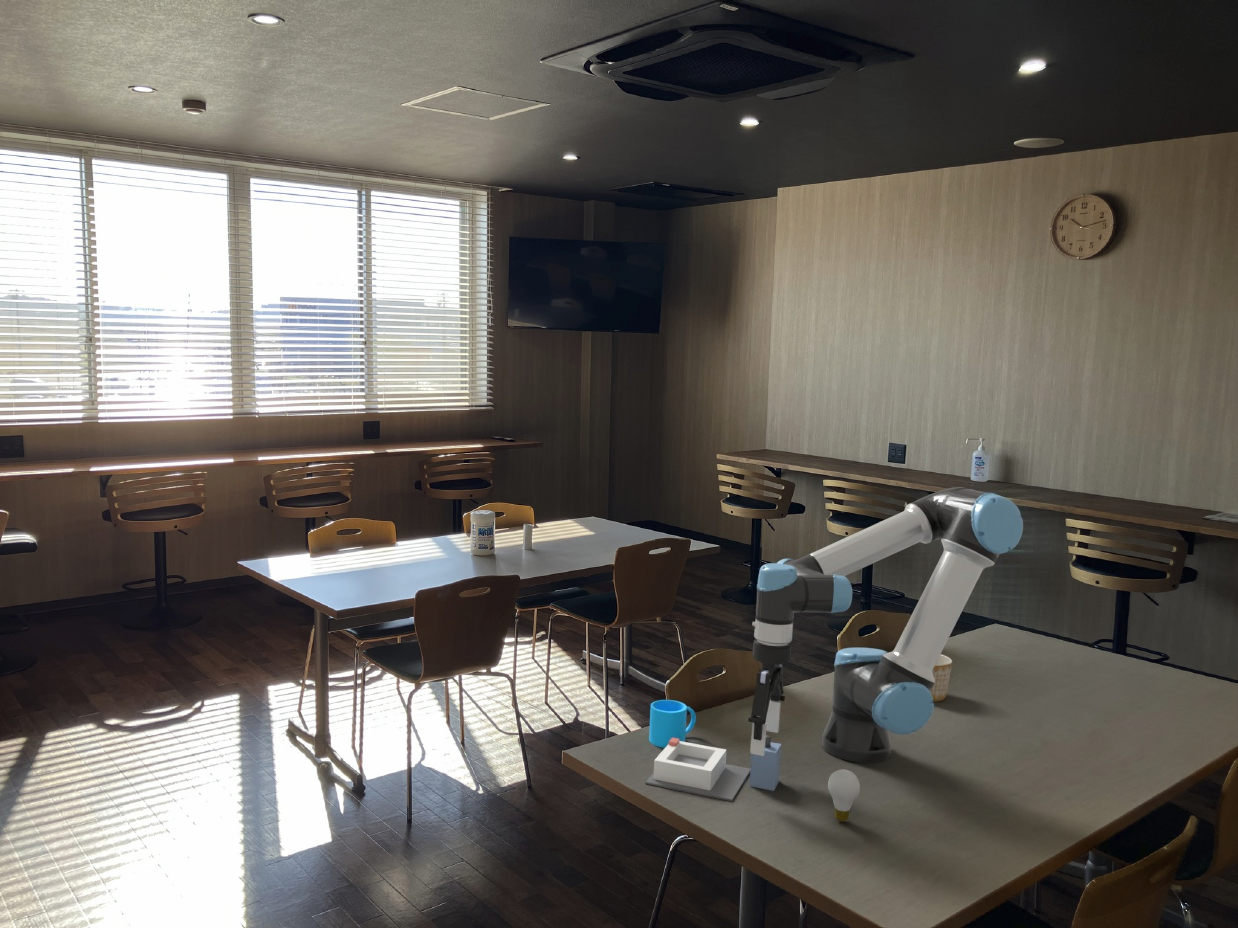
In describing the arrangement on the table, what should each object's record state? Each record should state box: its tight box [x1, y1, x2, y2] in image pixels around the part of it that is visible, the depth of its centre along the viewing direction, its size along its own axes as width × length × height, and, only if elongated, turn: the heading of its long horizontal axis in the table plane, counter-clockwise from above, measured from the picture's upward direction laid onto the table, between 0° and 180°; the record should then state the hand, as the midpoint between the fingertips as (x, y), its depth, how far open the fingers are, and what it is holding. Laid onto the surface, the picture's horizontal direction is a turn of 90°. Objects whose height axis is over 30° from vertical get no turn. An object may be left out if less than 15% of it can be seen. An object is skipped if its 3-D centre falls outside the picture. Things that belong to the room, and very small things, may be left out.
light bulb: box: [827, 769, 861, 823], centre depth 180 cm, size 6×6×10 cm
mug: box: [648, 699, 697, 749], centre depth 217 cm, size 12×8×8 cm
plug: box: [749, 734, 782, 792], centre depth 195 cm, size 5×5×10 cm
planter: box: [930, 653, 953, 703], centre depth 253 cm, size 13×13×10 cm
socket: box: [644, 738, 751, 802], centre depth 197 cm, size 18×16×5 cm
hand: (764, 742), depth 195 cm, fingers open, 13 cm apart
